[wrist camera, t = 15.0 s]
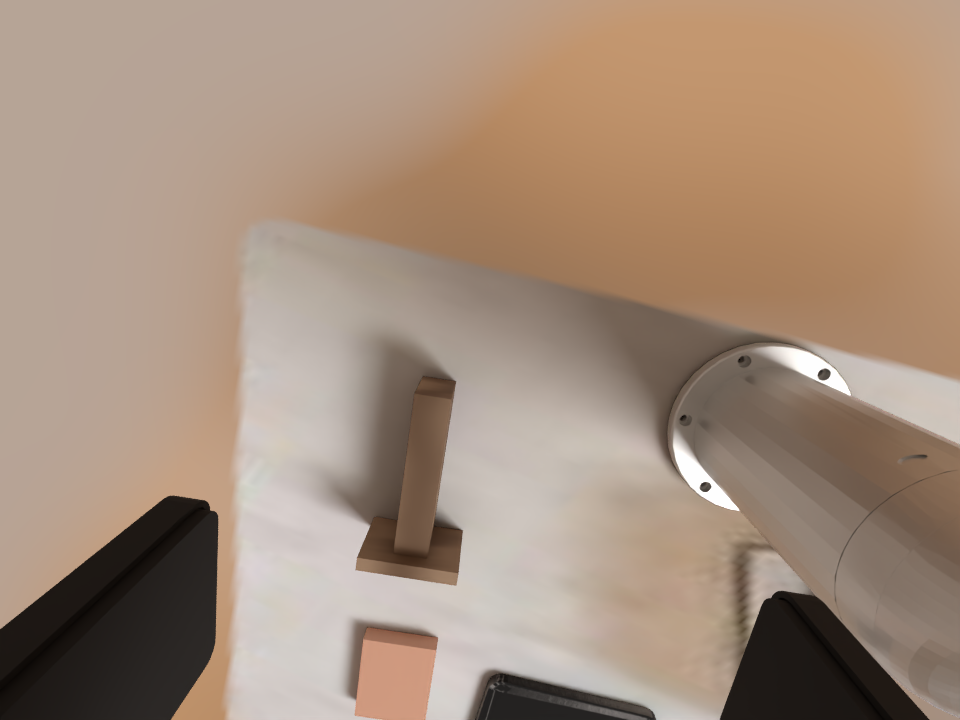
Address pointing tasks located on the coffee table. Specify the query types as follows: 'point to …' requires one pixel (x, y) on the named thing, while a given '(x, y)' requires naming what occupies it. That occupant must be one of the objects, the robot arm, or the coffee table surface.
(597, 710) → the phone
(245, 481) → the coffee table surface
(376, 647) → the tile
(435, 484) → the post on base stand
